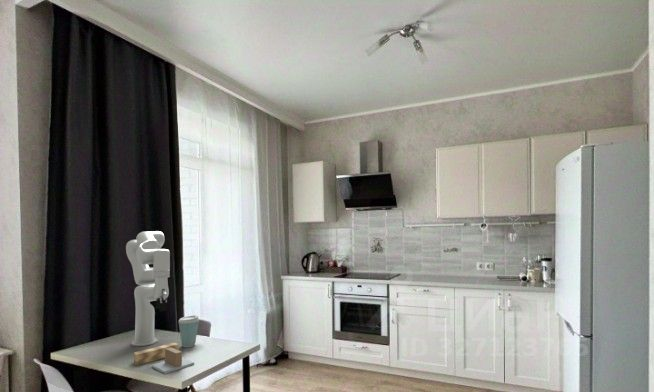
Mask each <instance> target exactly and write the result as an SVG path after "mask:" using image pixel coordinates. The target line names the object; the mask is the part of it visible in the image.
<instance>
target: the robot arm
mask: <svg viewBox="0 0 654 392" xmlns="http://www.w3.org/2000/svg"><path fill="white" fill-rule="evenodd" d="M135 238H136V239H131V240H129V241H128V242H127V243H126V245H125V250H126V251H125V252H126V256H127V259H128V260H129V262H130V264H131V267H132V271H133V277H134V279H133V280H134V282H135V284H136V285H137V286H136V287H135V288H134V292H133V295H134V302H135V318H134V319H135V320H134V322H135V324H134V328H135V329H134V340H132V341H131V346H133V347H146V346H150V345H153V344H156V343H157V341H158V339H157V337H155V315H156V312H155V309H156V310H158V309H159V312H161V313H162V312H167V311H168V297H169V296H170V295H169V294H170V292H169V291H170V290H169V283H168V278H170V277H171V276H170V274H171V273H170V269H171V268H170V267H171V261H170V259H171V258H170V256H171V252H170V250H169V249H166V248H162V247H163V246H164V244H165V240H166V239H165V235H164V233H163V232H162V231H159V230H155V231H154V230H153V231H152V230H151V231H148V230H147V231H141V232H139V233H138V234H137V236H136V237H135ZM149 265H152V266H153V267H152V266H151V267H150V266H149ZM153 301H154V302H155V307H154V306H153V304H151V303H150V302H153Z"/></svg>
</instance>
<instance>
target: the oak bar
mask: <svg viewBox="0 0 654 392" xmlns="http://www.w3.org/2000/svg"><path fill="white" fill-rule="evenodd" d="M179 346H180V344H179V343H176V342H171V343H167V344H163V345H159V346H155V347H152V348H148V349H143V350H140V351H136V352H133V364H134V365H135V366H140V365H143V364H146V363H150V362H153V361H154V362H155V361H157V360H161V359H165V349H166V348H170V347H172V348H174V349H177V350H179V349H180V347H179ZM179 351H180V350H179Z"/></svg>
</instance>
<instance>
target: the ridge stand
mask: <svg viewBox="0 0 654 392" xmlns="http://www.w3.org/2000/svg"><path fill="white" fill-rule="evenodd" d="M191 366H195V362H194V361H193V360H190V359H187V358H186V357H183V351H182V350H177V349H174V348H172V347H170V348H166V349H165V358H164V361H162V362H157V363H155V364H154V363H153V364H152V365H151V368H152V369H154V370H157V371H159V372H160V373H162V374H165V375H166V374H169V373H172V372H175V371H179V370H181V369H185V368H189V367H191Z"/></svg>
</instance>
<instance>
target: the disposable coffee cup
mask: <svg viewBox="0 0 654 392" xmlns="http://www.w3.org/2000/svg"><path fill="white" fill-rule="evenodd" d="M199 321H200V318H199V315H197V314H196V315H188V316H184V317H180V318H179V320H178V328H179V329H178V330H179V334H180V342H181V347H183V348H190V347H192V348H193V347H194V346H195V345H196V340H197V336H198V329H199Z"/></svg>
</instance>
